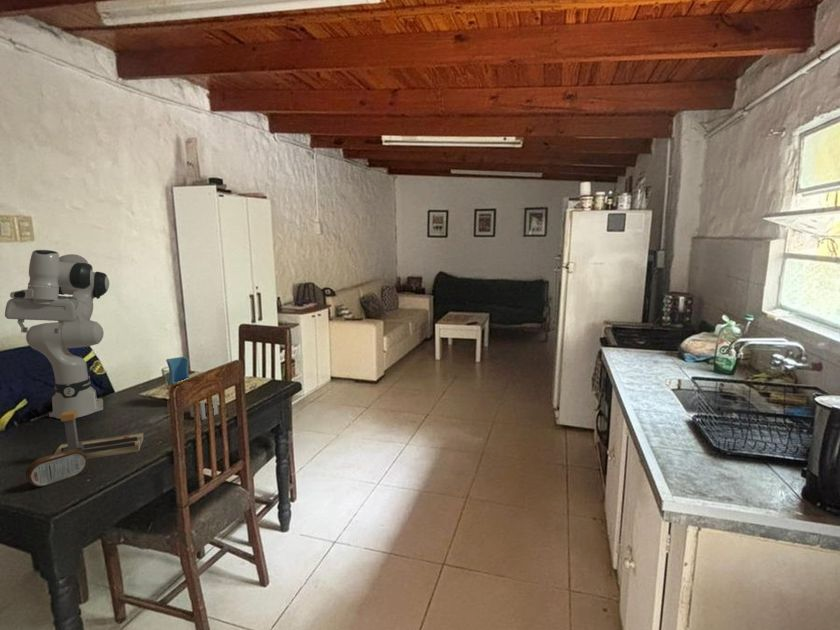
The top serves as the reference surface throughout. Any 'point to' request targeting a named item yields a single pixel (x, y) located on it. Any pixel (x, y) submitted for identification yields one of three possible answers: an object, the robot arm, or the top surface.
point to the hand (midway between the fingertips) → (40, 332)
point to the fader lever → (71, 430)
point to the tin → (56, 467)
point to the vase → (177, 369)
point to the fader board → (109, 445)
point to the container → (203, 408)
